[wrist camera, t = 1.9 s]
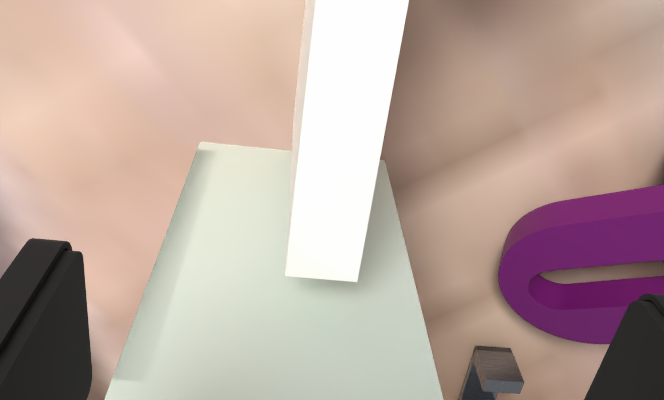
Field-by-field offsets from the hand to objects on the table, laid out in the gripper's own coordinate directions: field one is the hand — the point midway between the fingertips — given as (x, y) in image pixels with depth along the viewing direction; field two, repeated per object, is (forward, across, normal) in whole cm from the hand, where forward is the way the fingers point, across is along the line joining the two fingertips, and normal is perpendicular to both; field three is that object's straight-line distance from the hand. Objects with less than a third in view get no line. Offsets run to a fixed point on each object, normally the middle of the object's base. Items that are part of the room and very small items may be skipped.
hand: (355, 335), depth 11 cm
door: (+22, 0, 0) cm, 22 cm away
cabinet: (+22, +1, +14) cm, 26 cm away
